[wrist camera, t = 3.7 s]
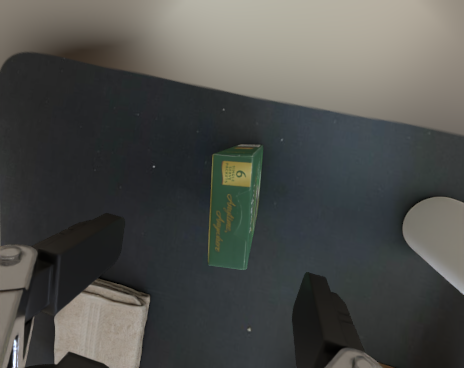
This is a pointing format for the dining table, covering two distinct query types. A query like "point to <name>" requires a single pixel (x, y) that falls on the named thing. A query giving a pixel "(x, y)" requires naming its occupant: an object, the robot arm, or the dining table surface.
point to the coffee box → (234, 205)
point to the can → (438, 236)
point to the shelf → (385, 366)
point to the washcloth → (103, 325)
